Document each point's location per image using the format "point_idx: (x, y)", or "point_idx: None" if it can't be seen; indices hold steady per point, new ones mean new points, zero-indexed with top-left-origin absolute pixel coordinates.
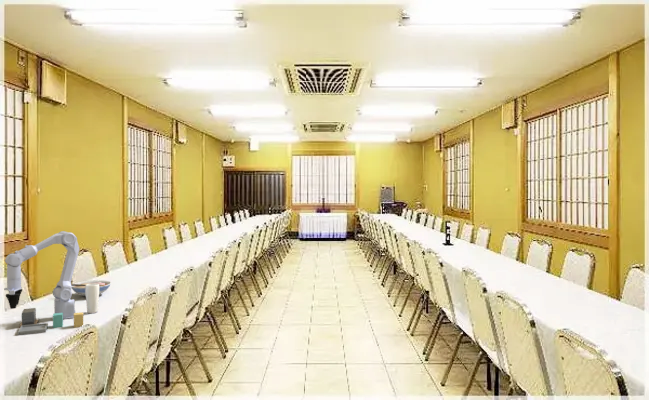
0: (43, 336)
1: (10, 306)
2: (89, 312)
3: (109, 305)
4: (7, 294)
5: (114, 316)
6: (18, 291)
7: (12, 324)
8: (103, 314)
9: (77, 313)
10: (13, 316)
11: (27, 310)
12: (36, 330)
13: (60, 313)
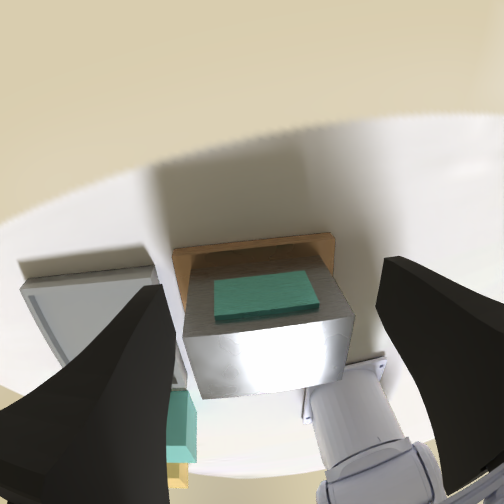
0: (29, 368)
1: (127, 308)
2: None
3: (415, 434)
4: (1, 492)
5: (267, 475)
6: (464, 461)
7: (308, 175)
8: (310, 458)
9: (169, 482)
10: (495, 155)
11: (270, 356)
12: (57, 357)
13: (180, 459)
